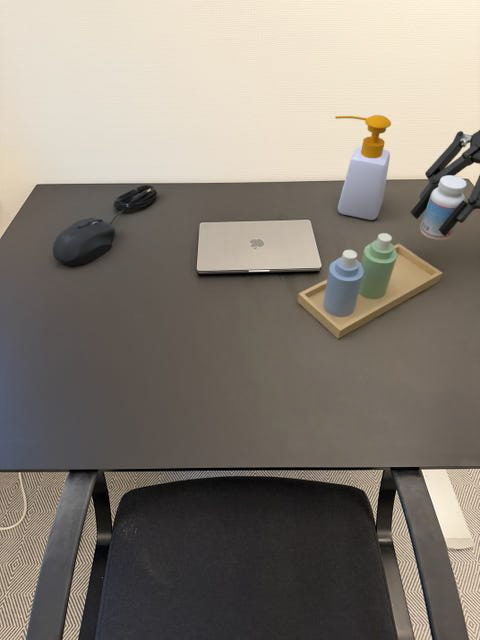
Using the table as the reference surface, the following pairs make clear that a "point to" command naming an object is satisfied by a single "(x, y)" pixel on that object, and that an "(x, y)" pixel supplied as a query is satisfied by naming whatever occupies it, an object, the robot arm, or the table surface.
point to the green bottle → (377, 267)
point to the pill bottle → (442, 206)
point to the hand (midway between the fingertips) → (427, 223)
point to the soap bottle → (366, 173)
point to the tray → (403, 285)
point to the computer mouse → (96, 230)
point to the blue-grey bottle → (343, 285)
